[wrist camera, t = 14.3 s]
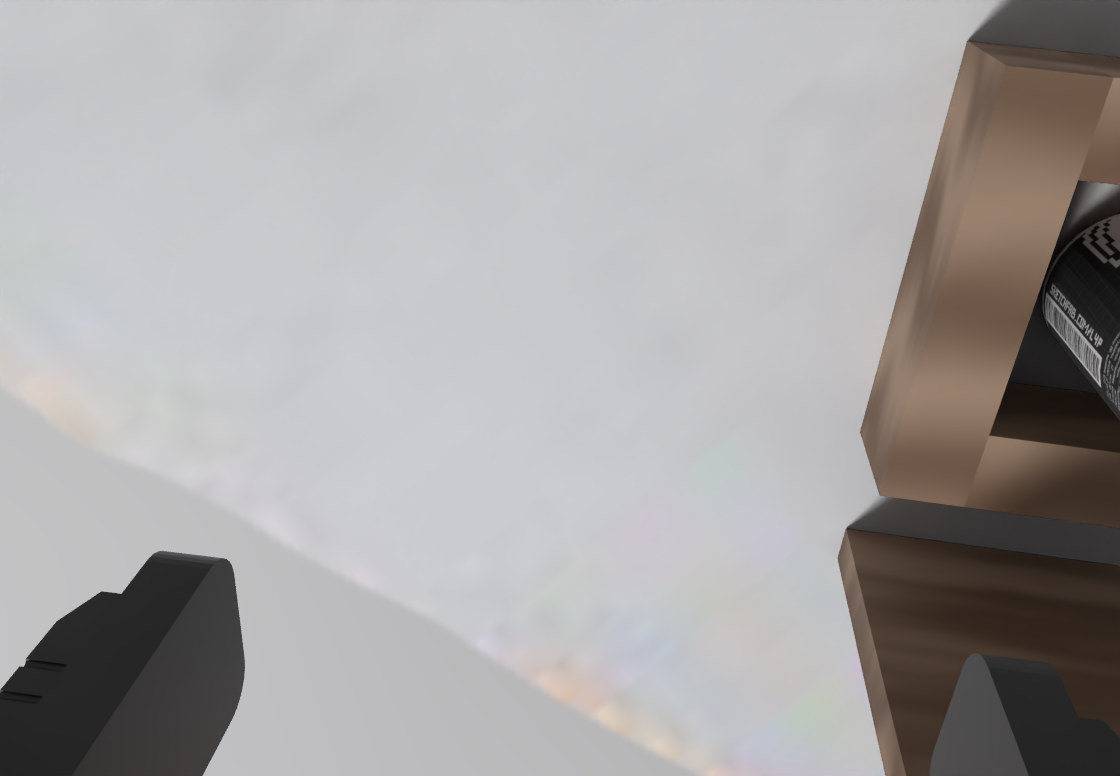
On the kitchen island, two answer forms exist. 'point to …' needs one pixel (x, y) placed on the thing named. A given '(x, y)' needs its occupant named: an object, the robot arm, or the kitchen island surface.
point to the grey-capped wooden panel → (972, 630)
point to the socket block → (998, 298)
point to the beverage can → (1089, 306)
